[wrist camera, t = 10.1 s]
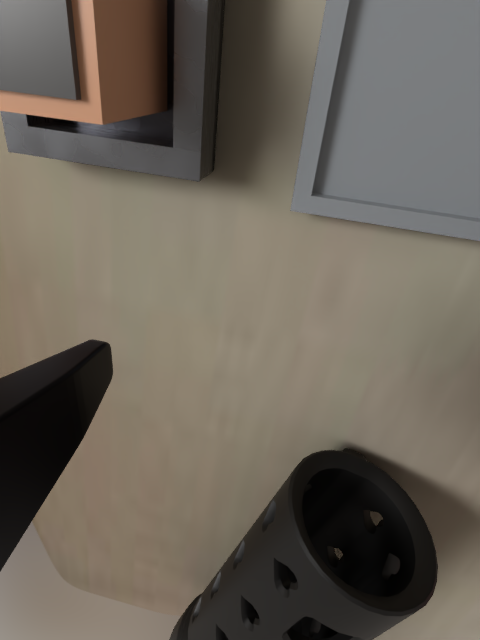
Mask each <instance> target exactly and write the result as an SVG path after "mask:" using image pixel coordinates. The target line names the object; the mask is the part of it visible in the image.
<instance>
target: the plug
mask: <svg viewBox="0 0 480 640" xmlns="http://www.w3.org/2000/svg"><path fill="white" fill-rule="evenodd" d="M0 111H6V112H13V113H20V114H28V115H35V116H42V117H49V118H57V119H64V120H71V121H78V122H86V123H93V124H100V125H104V124H109V123H113V122H118V121H123V120H127V119H132V118H136V117H141V116H146V115H150V114H155V113H159V112H164V111H167V0H0Z"/></svg>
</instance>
